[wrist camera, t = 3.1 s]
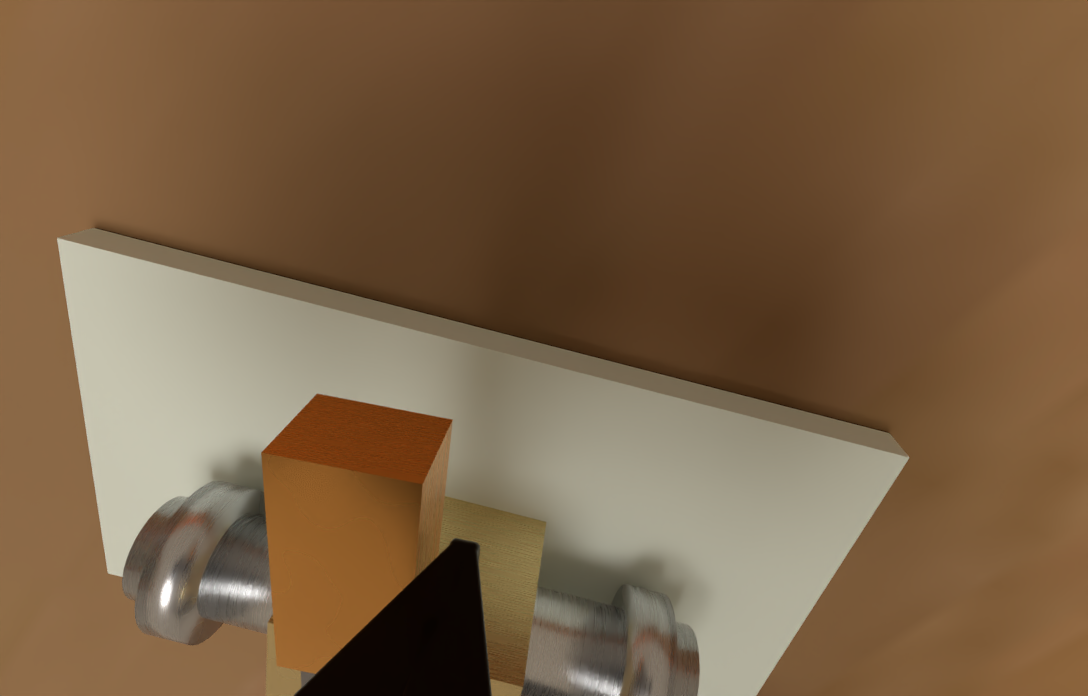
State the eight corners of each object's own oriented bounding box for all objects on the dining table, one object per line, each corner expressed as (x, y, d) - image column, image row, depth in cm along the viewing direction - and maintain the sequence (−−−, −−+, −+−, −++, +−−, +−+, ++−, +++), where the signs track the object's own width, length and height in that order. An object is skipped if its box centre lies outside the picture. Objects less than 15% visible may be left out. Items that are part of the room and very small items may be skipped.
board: (726, 700, 22) (732, 731, 21) (132, 549, 22) (107, 573, 21) (889, 433, 17) (909, 457, 15) (93, 227, 16) (57, 237, 15)
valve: (700, 561, 18) (740, 770, 12) (649, 665, 20) (664, 880, 15) (206, 435, 18) (28, 589, 12) (210, 553, 20) (62, 728, 14)
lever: (435, 814, 14) (409, 924, 12) (300, 786, 14) (255, 890, 12) (490, 426, 9) (460, 513, 7) (280, 386, 9) (198, 462, 7)
